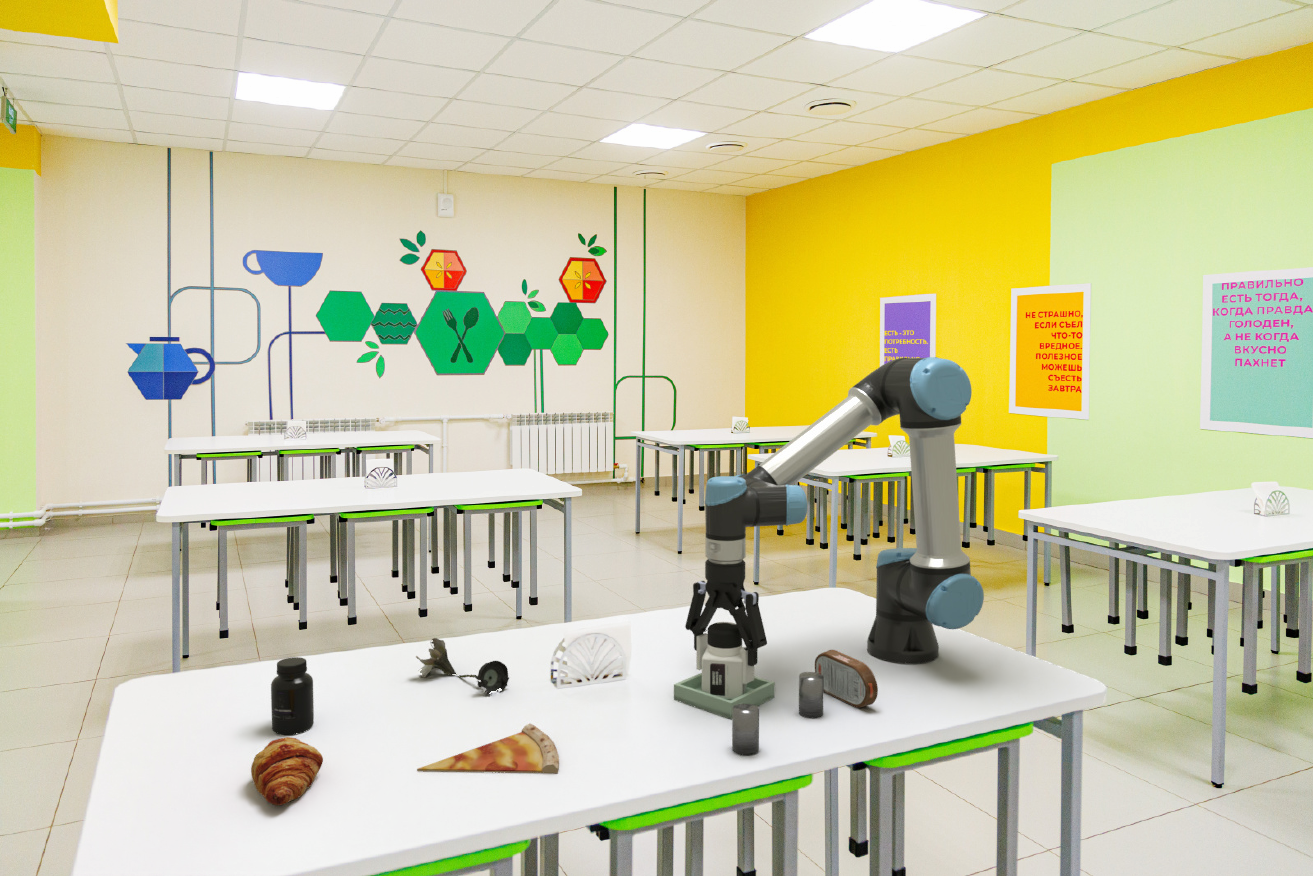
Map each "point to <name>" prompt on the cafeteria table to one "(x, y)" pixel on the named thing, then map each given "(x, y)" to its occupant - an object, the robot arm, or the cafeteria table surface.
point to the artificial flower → (489, 674)
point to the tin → (847, 678)
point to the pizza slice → (505, 756)
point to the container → (723, 662)
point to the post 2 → (811, 695)
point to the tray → (693, 695)
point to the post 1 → (745, 729)
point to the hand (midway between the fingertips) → (724, 674)
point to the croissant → (285, 769)
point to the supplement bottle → (292, 697)
